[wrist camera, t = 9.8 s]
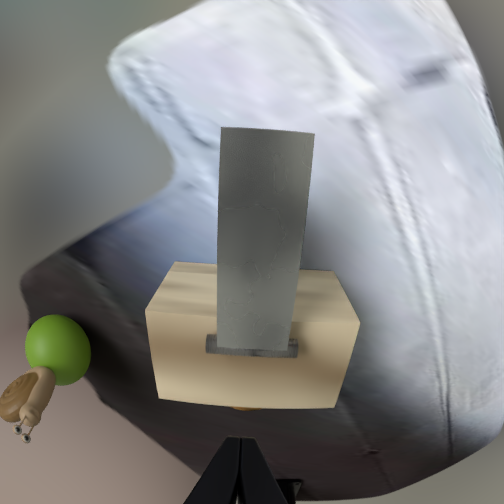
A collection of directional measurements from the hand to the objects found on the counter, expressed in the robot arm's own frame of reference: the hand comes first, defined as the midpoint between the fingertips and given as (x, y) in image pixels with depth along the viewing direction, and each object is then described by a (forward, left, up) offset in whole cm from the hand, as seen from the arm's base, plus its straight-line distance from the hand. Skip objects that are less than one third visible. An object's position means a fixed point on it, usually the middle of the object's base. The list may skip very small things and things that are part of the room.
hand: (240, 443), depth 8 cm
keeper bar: (+4, 0, -6) cm, 7 cm away
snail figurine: (-6, +14, -13) cm, 20 cm away
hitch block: (-3, 0, -12) cm, 13 cm away
